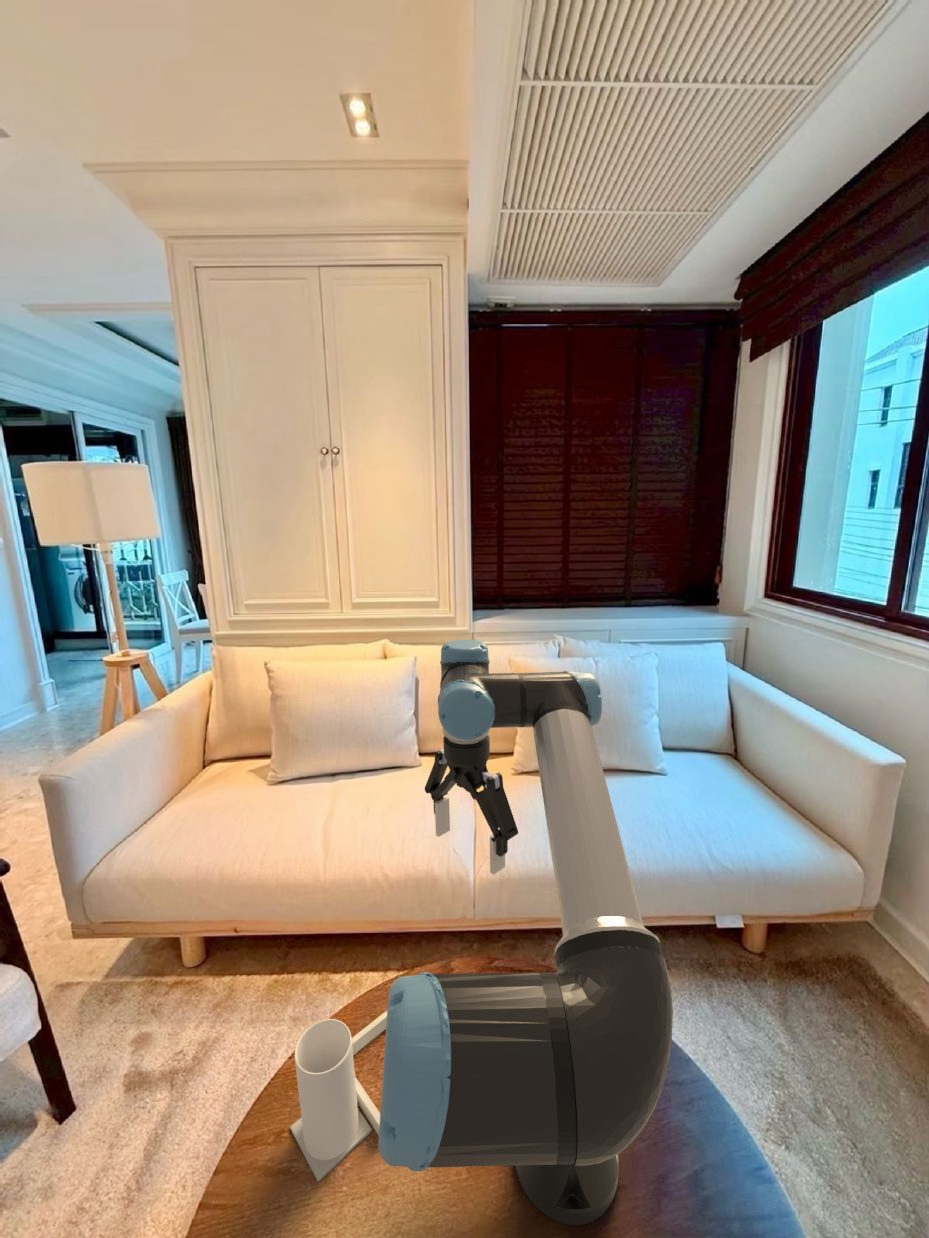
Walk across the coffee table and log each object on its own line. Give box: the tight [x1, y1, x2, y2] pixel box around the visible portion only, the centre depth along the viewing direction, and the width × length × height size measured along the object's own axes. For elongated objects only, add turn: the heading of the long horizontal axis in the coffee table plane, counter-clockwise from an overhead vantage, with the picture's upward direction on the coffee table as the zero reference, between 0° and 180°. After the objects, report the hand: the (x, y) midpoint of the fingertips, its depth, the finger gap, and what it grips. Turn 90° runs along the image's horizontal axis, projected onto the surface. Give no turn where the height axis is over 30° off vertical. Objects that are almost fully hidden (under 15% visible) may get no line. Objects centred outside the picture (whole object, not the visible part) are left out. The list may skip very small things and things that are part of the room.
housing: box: [351, 1010, 387, 1136], centre depth 92 cm, size 15×22×5 cm
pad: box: [290, 1108, 372, 1183], centre depth 81 cm, size 9×9×1 cm
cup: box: [294, 1018, 359, 1160], centre depth 79 cm, size 8×8×16 cm
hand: (468, 850), depth 89 cm, fingers open, 13 cm apart
